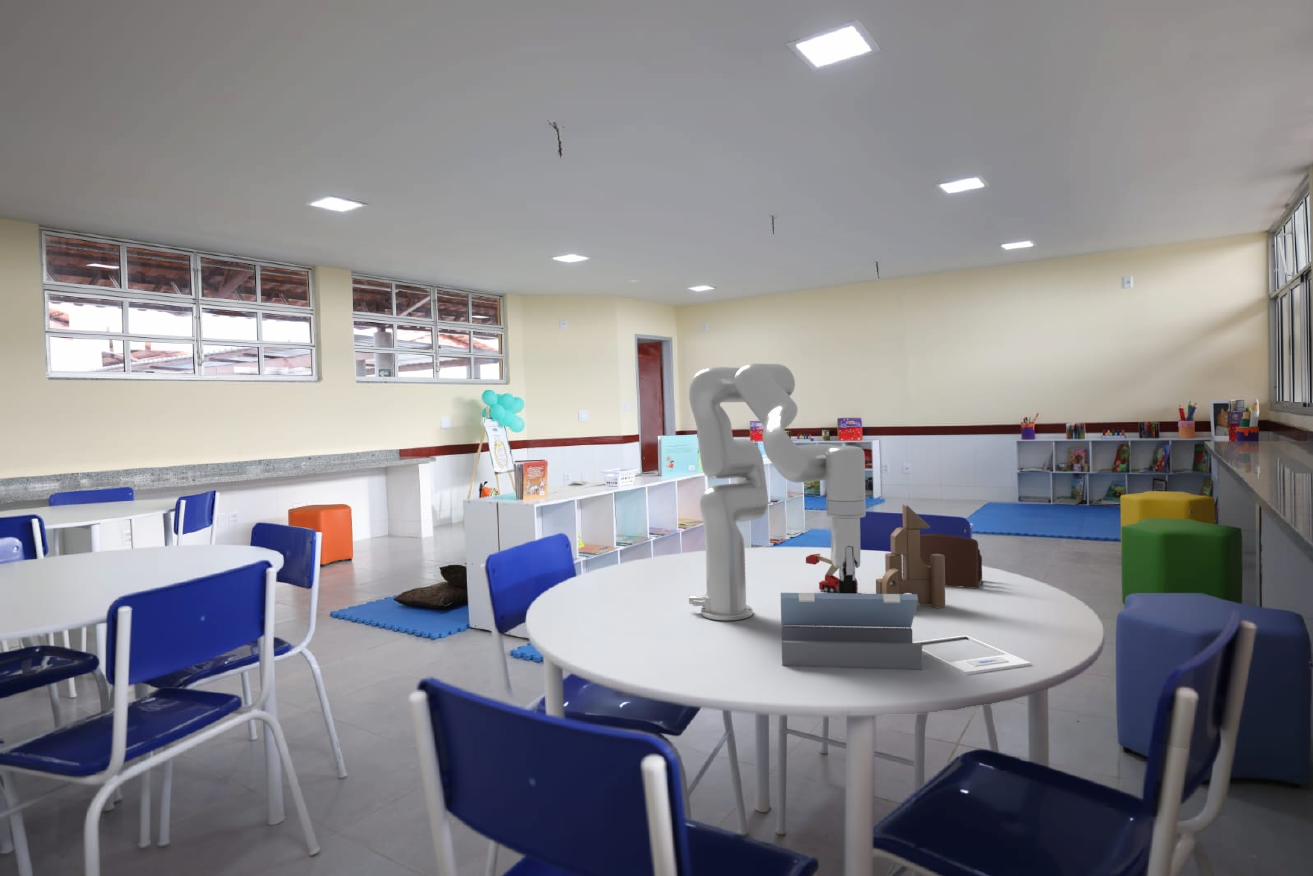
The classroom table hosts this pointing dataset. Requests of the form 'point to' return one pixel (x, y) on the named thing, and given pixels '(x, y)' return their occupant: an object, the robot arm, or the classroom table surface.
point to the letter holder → (954, 558)
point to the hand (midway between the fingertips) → (847, 599)
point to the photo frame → (979, 659)
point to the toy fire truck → (827, 574)
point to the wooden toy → (912, 565)
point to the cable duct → (850, 647)
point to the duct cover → (848, 609)
